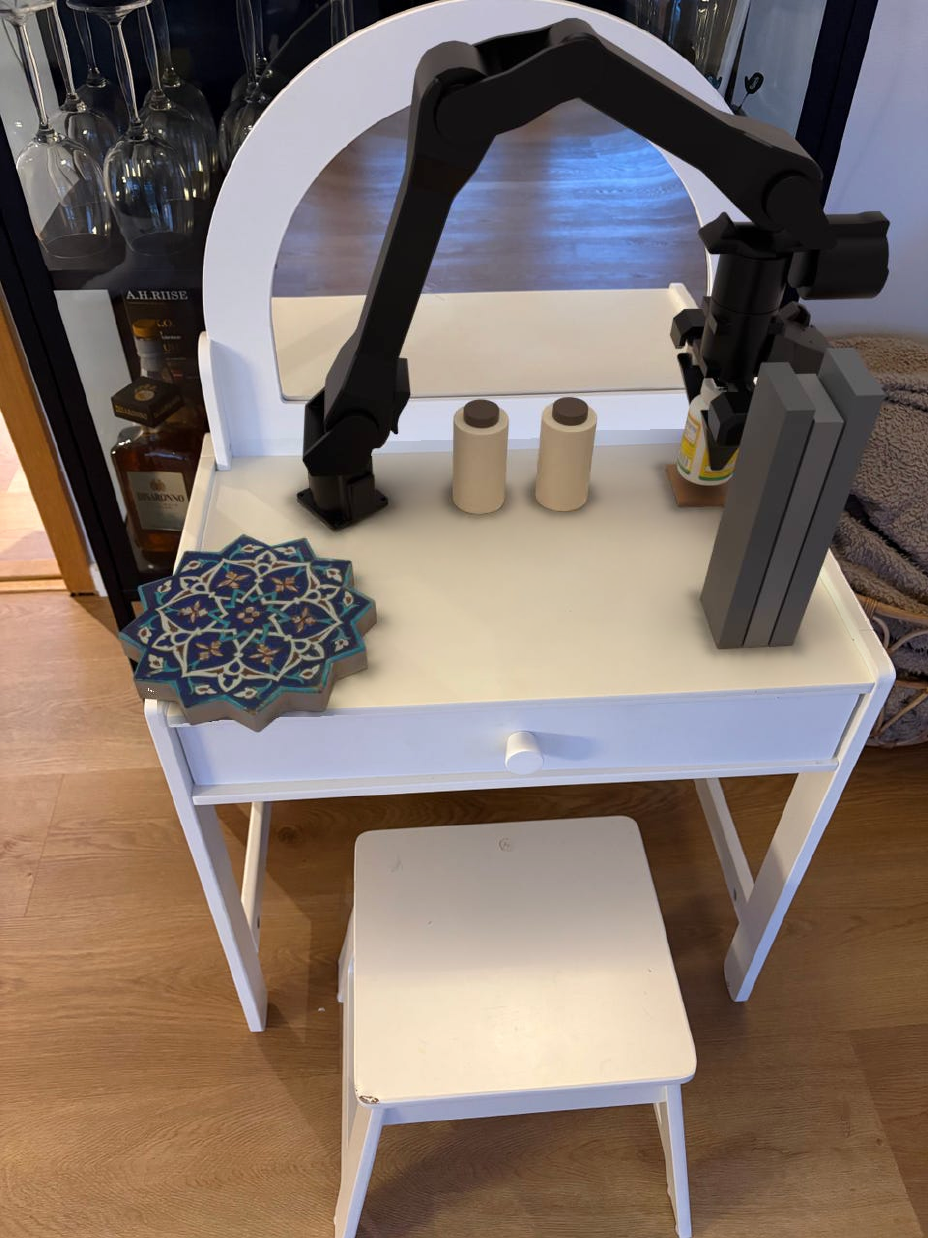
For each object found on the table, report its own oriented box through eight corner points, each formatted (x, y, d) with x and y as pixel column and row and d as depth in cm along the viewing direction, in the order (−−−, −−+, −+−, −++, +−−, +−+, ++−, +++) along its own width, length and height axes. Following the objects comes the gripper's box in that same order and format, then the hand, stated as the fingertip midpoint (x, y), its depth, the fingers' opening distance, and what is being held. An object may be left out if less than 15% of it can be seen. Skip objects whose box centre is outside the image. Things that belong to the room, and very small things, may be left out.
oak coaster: (678, 506, 94) (679, 502, 93) (665, 469, 98) (666, 464, 98) (740, 504, 94) (741, 499, 94) (724, 467, 98) (725, 462, 98)
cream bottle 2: (524, 493, 95) (531, 404, 88) (561, 472, 97) (570, 384, 90) (560, 518, 92) (570, 428, 85) (597, 497, 95) (610, 408, 88)
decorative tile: (103, 596, 84) (96, 576, 82) (322, 529, 90) (319, 509, 88) (165, 769, 71) (158, 750, 70) (413, 677, 78) (412, 657, 76)
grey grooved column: (793, 645, 81) (886, 394, 64) (717, 648, 81) (790, 397, 64) (771, 595, 85) (854, 347, 68) (699, 598, 85) (764, 349, 68)
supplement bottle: (666, 473, 94) (684, 385, 87) (691, 448, 97) (710, 361, 91) (717, 494, 92) (740, 405, 85) (741, 468, 95) (765, 380, 88)
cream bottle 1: (441, 495, 94) (441, 406, 87) (480, 475, 97) (483, 387, 90) (476, 521, 92) (479, 431, 85) (515, 499, 94) (521, 410, 87)
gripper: (880, 354, 76) (823, 511, 87) (804, 247, 89) (763, 396, 100) (739, 357, 75) (700, 515, 86) (683, 248, 88) (656, 398, 99)
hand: (708, 451), depth 93 cm, fingers closed on supplement bottle, 5 cm apart
